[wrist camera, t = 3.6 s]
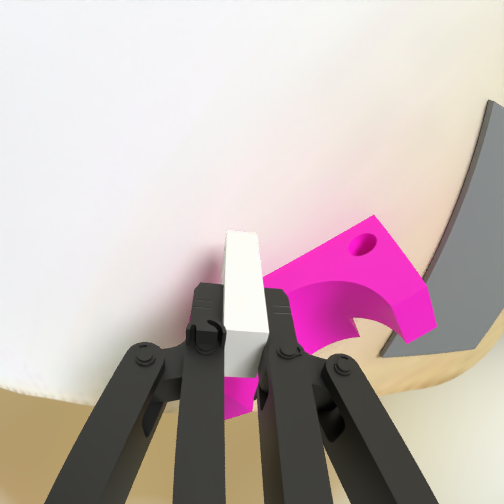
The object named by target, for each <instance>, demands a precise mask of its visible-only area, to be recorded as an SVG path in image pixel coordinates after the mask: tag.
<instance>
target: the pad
mask: <svg viewBox="0 0 504 504" xmlns="http://www.w3.org/2000/svg"><path fill="white" fill-rule="evenodd" d="M423 281H424V282H425V284H426V285H427V288H428V291H429V295H430V299H431V303H432V307H433V311H434V315H435V319H436V324H437V327H436V328H435V329H433V330H431V331H429V332H428V333H426V334H424V335H423V336H421V337H419V338H417V339H416V340H414V341H412V342H410V343H408V344H406V343H405V341H404V340H403V339H402V338H401V337H400V336H399V335H398V334H397V333H396V332H395V331H394V332H393V333H392V335H391V337H390V338H389V340H388V341H387V343H386V345H385V346H384V348H383V349H382V351H381V353H380V354H381V356H382V358H386V357H402V356H416V355H427V354H437V353H447V352H455V351H464V350H471V349H475V348H476V346H477V345H478V344H479V342H480V341H481V340H482V338H483V337H484V336H485V334H486V333H487V332H488V330H489V329H490V327H491V326H492V325H493V323H494V322H495V320H496V319H497V317H498V316H499V314H500V313H501V311H502V310H503V308H504V107H502V106H501V105H499V104H497V103H496V102H494V101H491V100H488V104H487V108H486V113H485V117H484V121H483V124H482V128H481V132H480V135H479V139H478V142H477V146H476V149H475V152H474V156H473V159H472V162H471V165H470V168H469V171H468V174H467V177H466V180H465V182H464V185H463V188H462V191H461V193H460V196H459V199H458V201H457V204H456V206H455V209H454V212H453V214H452V216H451V219H450V221H449V224H448V226H447V228H446V231H445V233H444V235H443V238H442V240H441V242H440V244H439V246H438V249H437V251H436V253H435V255H434V257H433V259H432V261H431V263H430V265H429V268H428V270H427V272H426V274H425V276H424V278H423Z"/></svg>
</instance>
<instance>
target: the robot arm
mask: <svg viewBox="0 0 504 504" xmlns="http://www.w3.org/2000/svg"><path fill="white" fill-rule="evenodd" d="M291 314H292V313H291V308H290V303H289V298H288V296H287V295H286V293H285V292H284V291H283V290H282V289H276V288H264V286H263V278H262V270H261V261H260V253H259V245H258V237H257V233H250V232H241V231H232V230H227V233H226V241H225V249H224V257H223V265H222V273H221V284H212V283H202V282H200V284H199V285H198V286H197V287H196V288H195V290H194V297H193V304H192V311H191V319H190V323H189V324H188V326H187V328H186V340H185V341H184V342H183V343H182V344H180V345H178V346H176V347H173V348H168V349H160V347H159V346H157V345H155V344H153V343H148V342H142V343H137V344H135V345H133V346H131V347H130V349H129V350H128V351H127V352H126V354H125V356H124V357H123V359H122V361H121V362H120V364H119V366H118V367H117V369H116V371H115V372H114V374H113V376H112V378H111V379H110V381H109V383H108V384H107V386H106V388H105V390H104V391H103V393H102V395H101V397H100V398H99V400H98V402H97V404H96V405H95V407H94V409H93V411H92V413H91V415H90V416H89V418H88V420H87V422H86V423H85V425H84V427H83V429H82V431H81V433H80V434H79V436H78V438H77V440H76V442H75V444H74V446H73V448H72V450H71V451H70V453H69V455H68V457H67V459H66V461H65V463H64V465H63V467H62V469H61V471H60V473H59V475H58V477H57V479H56V481H55V483H54V485H53V487H52V489H51V491H50V493H49V495H48V497H47V499H46V501H45V503H44V504H125V502H126V499H127V497H128V495H129V492H130V490H131V487H132V485H133V482H134V480H135V478H136V475H137V473H138V470H139V468H140V465H141V463H142V461H143V458H144V456H145V453H146V451H147V449H148V446H149V444H150V442H151V439H152V437H153V435H154V432H155V430H156V427H157V425H158V423H159V420H160V418H161V416H162V413H163V411H164V409H165V406H166V404H167V402H169V401H174V400H180V405H179V416H178V428H177V440H176V453H175V468H174V485H173V504H226V497H225V441H224V439H225V438H224V376H226V377H243V378H256V376H257V373H258V379H259V382H258V385H257V388H256V391H255V394H254V399H253V400H256V399H257V405H258V420H259V434H260V449H261V463H262V477H263V491H264V504H333V499H332V494H331V488H330V481H329V476H328V470H327V464H326V459H325V453H324V447H325V450H326V452H327V454H328V456H329V458H330V460H331V462H332V465H333V467H334V469H335V471H336V473H337V475H338V477H339V479H340V482H341V484H342V486H343V488H344V490H345V492H346V494H347V496H348V499H349V501H350V503H351V504H439V503H438V501H437V499H436V498H435V496H434V494H433V492H432V491H431V489H430V487H429V485H428V483H427V481H426V479H425V478H424V476H423V474H422V473H421V471H420V469H419V467H418V465H417V463H416V462H415V460H414V458H413V457H412V455H411V453H410V451H409V450H408V448H407V446H406V444H405V442H404V441H403V439H402V437H401V435H400V434H399V432H398V430H397V429H396V427H395V425H394V423H393V422H392V420H391V419H390V417H389V415H388V413H387V412H386V410H385V408H384V407H383V405H382V403H381V402H380V400H379V398H378V396H377V395H376V393H375V391H374V390H373V388H372V386H371V385H370V383H369V381H368V380H367V378H366V376H365V375H364V373H363V371H362V370H361V368H360V367H359V365H358V363H357V362H356V361H355V360H354V359H353V358H351V357H350V356H348V355H345V354H334V355H332V356H330V357H329V358H328V359H327V360H326V359H323V358H319V357H316V356H313V355H310V354H308V353H307V352H305V351H304V349H303V347H302V346H301V345H300V344H299V343H298V341H297V337H296V332H295V327H294V322H293V318H292V315H291ZM323 445H324V447H323Z"/></svg>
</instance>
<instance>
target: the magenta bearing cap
mask: <svg viewBox="0 0 504 504" xmlns="http://www.w3.org/2000/svg"><path fill="white" fill-rule="evenodd" d="M263 286H264V288H276V289H282V290H283V291H284V292H285V293H286V295H287V296H288V298H289V303H290V308H291V313H292V314H291V315H292V318H293V322H294V327H295V332H296V337H297V341H298V343H299V344H300V345H301V346H302V347H303V349H304V351H305V352H307V353H308V354H310V355H312V354H313V353H314V352H316V351H317V350H319V349H321V348H323V347H325V346H327V345H329V344H331V343H334V342H336V341H340V340H343V339H347V338H353V337H360V336H359V333H358V330H357V328H356V325H355V323H354V320H353V317H355V318H365V319H371V320H374V321H377V322H380V323H382V324H384V325H386V326H388V327H390V328H391V329H392V330H394V331H395V332H396V333H397V334H398V335H399V336H400V337H401V338H402V339H403V340H404V341H405V343H406V344H408V343H410V342H412V341H414V340H416V339H417V338H419V337H421V336H423V335H424V334H426V333H428V332H429V331H431V330H433V329H435V328H436V327H437V324H436V319H435V315H434V311H433V307H432V303H431V299H430V295H429V291H428V288H427V285H426V284H425V282H424V281H423V279H422V278H421V277H420V275H419V274H418V272H417V271H416V269H415V268H414V267H413V265H412V264H411V262H410V261H409V260H408V258H407V257H406V256H405V254H404V253H403V252H402V250H401V249H400V248H399V246H398V245H397V244H396V242H395V241H394V240H393V238H392V237H391V236H390V234H389V233H388V232H387V230H386V229H385V228H384V227H383V225H382V224H381V223H380V222H379V220H378V219H377V218H376V217H375V215H373V216H371V217H369V218H367V219H366V220H364V221H362V222H360V223H359V224H357V225H355V226H354V227H352V228H350V229H348V230H347V231H345V232H343V233H341V234H340V235H338V236H336V237H334V238H333V239H331V240H329V241H327V242H326V243H324V244H322V245H320V246H318V247H317V248H315V249H313V250H311V251H310V252H308V253H306V254H304V255H302V256H301V257H299V258H297V259H295V260H293V261H292V262H290V263H288V264H286V265H284V266H283V267H281V268H279V269H277V270H275V271H274V272H272V273H270V274H268V275H266V276H264V277H263ZM190 319H191V316H190ZM189 323H190V321H189ZM258 382H259V379H258V373H257V376H256V378H243V377H226V376H224V420H226V419H230V418H233V417H236V416H240V415H242V414H246V413H249V412H252V409H253V401H254V400H253V399H254V394H255V391H256V388H257V385H258Z"/></svg>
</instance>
